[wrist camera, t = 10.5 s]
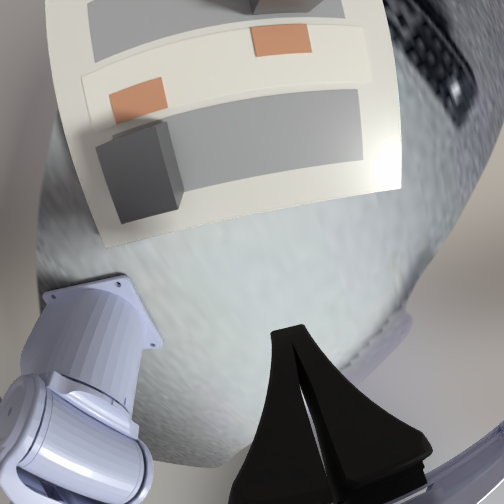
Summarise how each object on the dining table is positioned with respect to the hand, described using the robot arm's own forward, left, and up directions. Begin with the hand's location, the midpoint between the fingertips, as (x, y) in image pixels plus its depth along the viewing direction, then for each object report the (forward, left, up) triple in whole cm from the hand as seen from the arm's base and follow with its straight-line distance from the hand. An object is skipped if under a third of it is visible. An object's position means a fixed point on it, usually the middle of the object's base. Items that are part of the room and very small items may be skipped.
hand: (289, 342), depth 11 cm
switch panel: (0, +12, -9) cm, 15 cm away
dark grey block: (-5, +7, -7) cm, 11 cm away
